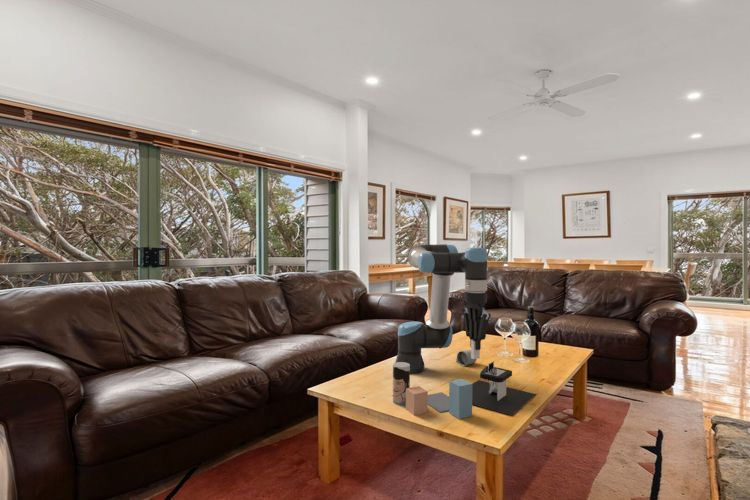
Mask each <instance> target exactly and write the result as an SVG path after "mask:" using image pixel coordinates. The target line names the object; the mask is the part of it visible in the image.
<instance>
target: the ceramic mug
mask: <svg viewBox="0 0 750 500" xmlns="http://www.w3.org/2000/svg"><path fill="white" fill-rule="evenodd" d="M477 360H478V359H472V358H471V349H468V350H467V349H465V350H459V351H458V352H457V353H456V358H455V362H457V363H458V364H459V365H460V366H461V367H465V366H469V365H473V364H475V363H476V362H477Z"/></svg>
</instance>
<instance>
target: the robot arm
mask: <svg viewBox="0 0 750 500" xmlns="http://www.w3.org/2000/svg"><path fill="white" fill-rule="evenodd" d="M488 260H489V258H488V250H487V248H485V247H467V248H465V251H463V252H459V251H458V248H457V247H456V246H455V245H454V244H419V245H416V246H414V247H412V248H411V249H410V250H409V251H408V254H407V261H408V263H409V265H410V266H411V267H413V268H415V269H418V271H419V272H420V273H426V274H431V275H432V281H431V293H430V307H429V317H428V318H427V319H426V321H425V324H423V323H422V322H421V321H407V322H404V323H400V324H399V325H398V328H397V336H398V337H397V338H398V339H397V355H396V358H395V362H394V363H397V362H405V363H409V364H410V375H412V374H413V375H414V374H419V373H423V372H424V371H425V368H426V367H425V361H424V359H423V356H422V355H423V354H422V349H445V348H448V347H450V346H451V344H452V342H453V332H454V331H453V327H452V325H451V324H450V322H449V320H448V310H449V297H450V288H451V287H450V286H451V278H452V276H454V274H455V273H456V274H457V273H459V274H462V273H463V274H464V281H465V283H464V290H465V292H464V302H465V303H466V307H464V308H462V309H461V313H462V316H463V322H464V329H465V335H466V337H468V338H469V339H470V341H469V342H470V344H469V345H470V350H471V358H472V359H477V360H478V359H481V358H480V356H481V355H480V353H481V348H482V347H481V346H482V343H481V342H482V341H484V340H486V337H487V332H488V331H487V330H488V325H489V321H490V318H491V317H492V316H491V313H488V312H487V311H486V309H487V308H486V303H487V302H488V293H487V291H488Z"/></svg>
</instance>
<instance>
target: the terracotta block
mask: <svg viewBox="0 0 750 500" xmlns="http://www.w3.org/2000/svg"><path fill="white" fill-rule="evenodd" d="M428 395H429V393H428V390H426V389H424V388H423V387H421V386H413V387H410V388H407V389H406V405H405V411H408V412H409V413H410V414H411V415H413V416H417V415H421V414H426V413H428V410H429V409H428V406H429V405H428Z"/></svg>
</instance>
